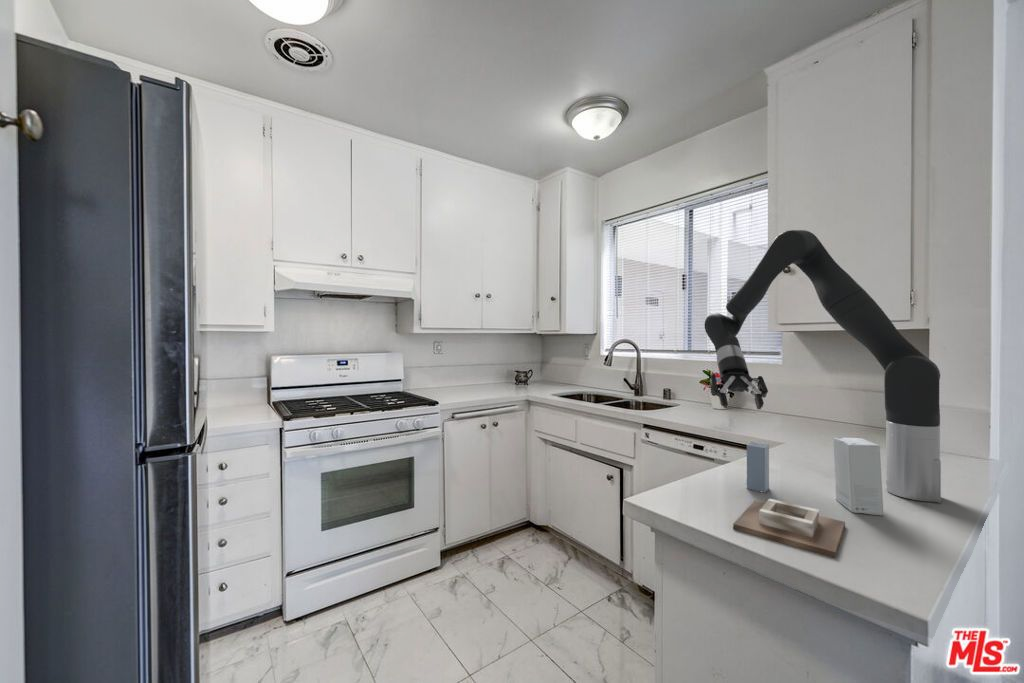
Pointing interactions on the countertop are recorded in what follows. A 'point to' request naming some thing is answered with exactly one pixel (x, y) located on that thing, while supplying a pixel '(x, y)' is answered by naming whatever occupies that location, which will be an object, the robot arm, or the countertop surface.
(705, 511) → the countertop surface
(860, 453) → the skincare box
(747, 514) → the socket board
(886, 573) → the countertop surface
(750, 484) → the plug
